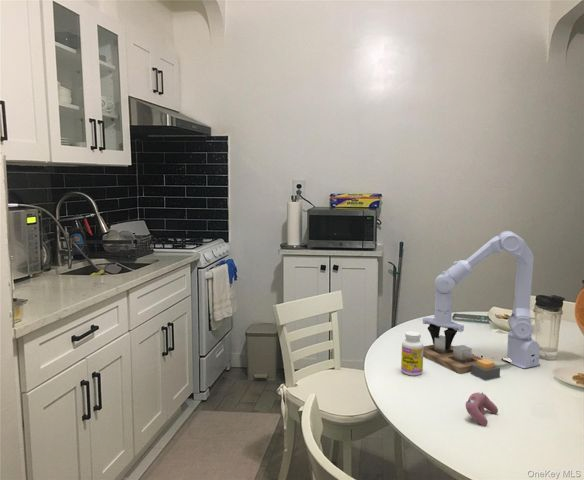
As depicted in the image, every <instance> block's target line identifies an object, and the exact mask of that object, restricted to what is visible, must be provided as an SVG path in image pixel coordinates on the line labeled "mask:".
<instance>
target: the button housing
mask: <svg viewBox="0 0 584 480" xmlns="http://www.w3.org/2000/svg"><path fill="white" fill-rule="evenodd" d="M470 374H471V375H473V376H475V377H477V378H479V379H482V380H483V381H489V380H493V379H497V378H501V367H499V366H497V365H495V364H494V368H490V369H483V368H481V367H479V366H477V363H476V364H471V372H470Z"/></svg>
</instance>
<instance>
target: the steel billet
mask: <svg viewBox="0 0 584 480" xmlns="http://www.w3.org/2000/svg"><path fill="white" fill-rule="evenodd" d="M434 352H436V353H439V354H446V353H451V347H450V349H448V350H446V347H445V335H440V334H439V336H438V337H435V346H434Z"/></svg>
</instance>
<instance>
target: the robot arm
mask: <svg viewBox="0 0 584 480" xmlns="http://www.w3.org/2000/svg"><path fill="white" fill-rule="evenodd" d="M502 250H503V251H504V252H505V253H507V254H510V255H512V256H513V258H515V259H516V272H515V283H514V284H515V285H514V296H513V297H514V298H513V299H514V300H513V307H512V310H511V315H509V318H508V321H507V322H508V323H507V324H508V326H509V328H510V331H508V333H507V348H506V349H507V352H506V354H507V355H506V357H508V358H510V359H511V360H512V363H510V364H511V365H514V366H516V367H519V368H521V369H528V368H531V367H532V368H533V367H537V366H540V365H541V363H540V344H539V343H538V341H536V340H534V338H533V336H532V334H533V333H534V327H533V324H532V321H531V319H532V316H531V310H530V308H531V295H532V286H533V285H532V283H533V271H534V254H533V252H532V251H531V249H530V247H529V246H528V244H527V242H526V241H525V240H524V239H523V238H522V237H521V236H519V235H518V234H516V233H514V231H511V230H504V231H502V232H499V234H498V235H496V236H494V237H492V238H491V239H490V240H489V241H487V242H486V243H485V244H484V245H482V247H480V248H478V249H477V250H476V251H475V252H474V253H473V254H471V256H469V257H468V258H467V259H464V260H462V259H459V260H458V261H457V260H455V261H454V262H453V265H451V266H450V267H449V268H447V270H443V271H442V273H441V274H439V275H437V277H436V278H435V281H434V285H435V292H434V293H435V296H434V314H433V315H434V316H433V317H434V318H432V317H424V318H422V324H423V325H429V326H427V330H428V332H429V334H430V337H431V340H432V345H434V346H435V337H438V336H440V333H441V328H443V329H444V330H443V333H444V336H445V347H446V350H448V349H450V347H451V345H452V343H453V340H454V338H455V336H456V334H457V332H459V333H463V332H464V330H465V327H464V326H465V325H464V324H460V323H457V322H454V321H452V317H453V316H452V314H453V296H452V291H453V289H454V286H456V285H458V284H460V283H461V282H462V281H463V280H464V279H466V278H467V277H469V275H471V274H472V272H473V268H474V267H475V266H477V265H478V264H479V263H481V262H482V261H484V260H485V259H486V258H487V259H488V257H490V256H491V255H493V254H502V253H503V251H502Z"/></svg>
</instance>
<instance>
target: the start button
mask: <svg viewBox="0 0 584 480" xmlns="http://www.w3.org/2000/svg"><path fill="white" fill-rule="evenodd" d="M494 365H495V362H494V361H492V360H490V359H487V358H483V359H482V360H477V366H479V367H481V368H483V369H490V368H494Z"/></svg>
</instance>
